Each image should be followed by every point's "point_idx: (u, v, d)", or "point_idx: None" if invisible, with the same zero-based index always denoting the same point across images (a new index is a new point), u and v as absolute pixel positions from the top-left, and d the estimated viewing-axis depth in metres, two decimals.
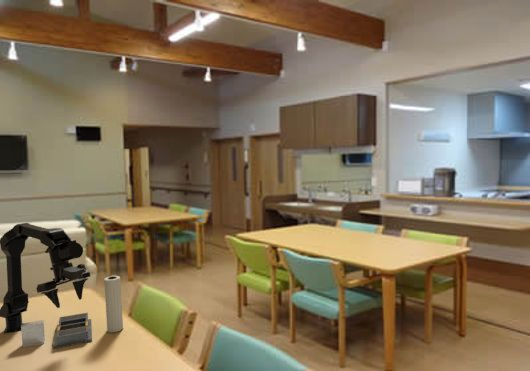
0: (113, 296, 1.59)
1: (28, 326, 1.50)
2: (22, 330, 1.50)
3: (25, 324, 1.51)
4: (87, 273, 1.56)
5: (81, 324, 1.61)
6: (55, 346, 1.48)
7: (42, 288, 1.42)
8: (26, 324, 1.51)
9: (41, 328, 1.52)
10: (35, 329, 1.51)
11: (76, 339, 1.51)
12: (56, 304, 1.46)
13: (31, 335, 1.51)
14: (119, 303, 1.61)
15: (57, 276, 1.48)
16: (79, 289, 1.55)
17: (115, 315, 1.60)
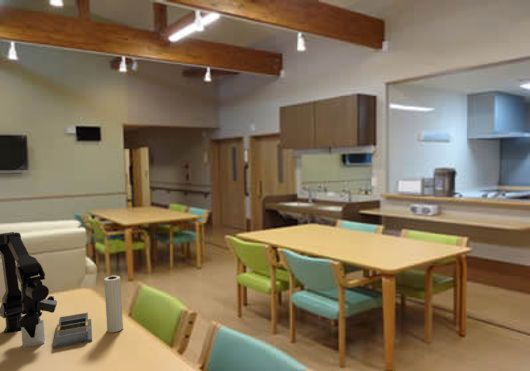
0: (113, 296, 1.59)
1: None
2: (22, 330, 1.50)
3: None
4: None
5: (81, 324, 1.61)
6: (55, 346, 1.48)
7: (30, 322, 1.43)
8: None
9: (41, 328, 1.52)
10: None
11: (76, 339, 1.51)
12: (32, 334, 1.50)
13: None
14: (119, 303, 1.61)
15: (32, 309, 1.49)
16: None
17: (115, 315, 1.60)
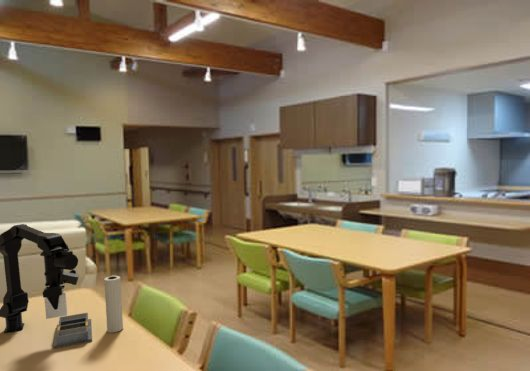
0: (113, 296, 1.59)
1: None
2: (45, 302, 1.52)
3: None
4: None
5: (81, 324, 1.61)
6: (55, 346, 1.48)
7: (54, 292, 1.46)
8: None
9: (64, 300, 1.54)
10: None
11: (76, 339, 1.51)
12: (55, 306, 1.52)
13: None
14: (119, 303, 1.61)
15: (55, 281, 1.52)
16: None
17: (115, 315, 1.60)
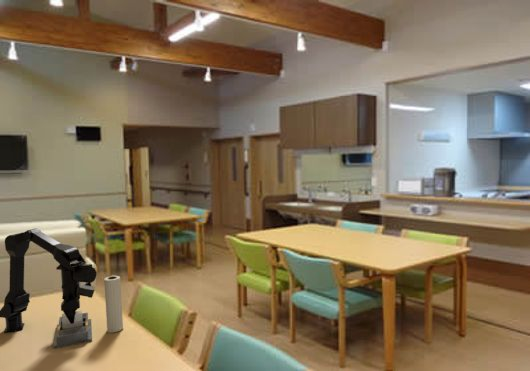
0: (113, 296, 1.59)
1: None
2: (62, 320, 1.55)
3: None
4: None
5: None
6: (55, 346, 1.48)
7: (72, 306, 1.49)
8: None
9: (80, 318, 1.57)
10: (74, 319, 1.56)
11: (76, 339, 1.51)
12: (72, 320, 1.54)
13: (71, 324, 1.56)
14: (119, 303, 1.61)
15: (72, 294, 1.54)
16: None
17: (115, 315, 1.60)
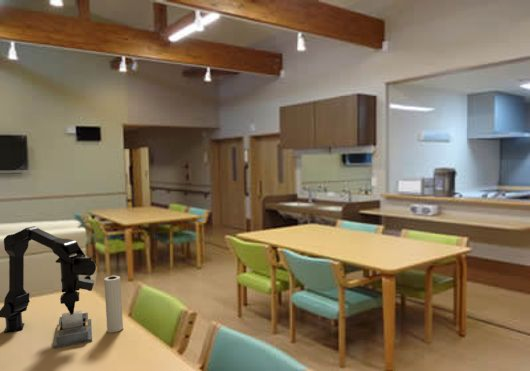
0: (113, 296, 1.59)
1: (68, 316, 1.56)
2: (62, 320, 1.55)
3: (65, 314, 1.56)
4: None
5: None
6: (55, 346, 1.48)
7: (71, 299, 1.48)
8: (66, 314, 1.56)
9: (80, 318, 1.57)
10: (74, 319, 1.56)
11: (76, 339, 1.51)
12: (71, 310, 1.57)
13: (71, 324, 1.56)
14: (119, 303, 1.61)
15: (71, 287, 1.54)
16: None
17: (115, 315, 1.60)
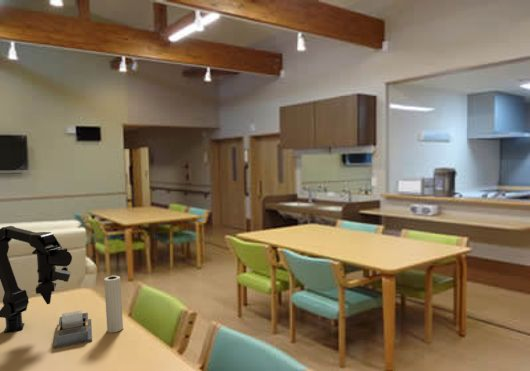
0: (113, 296, 1.59)
1: (68, 316, 1.56)
2: (62, 320, 1.55)
3: (65, 314, 1.56)
4: None
5: None
6: (55, 346, 1.48)
7: (46, 289, 1.52)
8: (66, 314, 1.56)
9: (80, 318, 1.57)
10: (74, 319, 1.56)
11: (76, 339, 1.51)
12: (48, 300, 1.60)
13: (71, 324, 1.56)
14: (119, 303, 1.61)
15: (48, 278, 1.57)
16: None
17: (115, 315, 1.60)
